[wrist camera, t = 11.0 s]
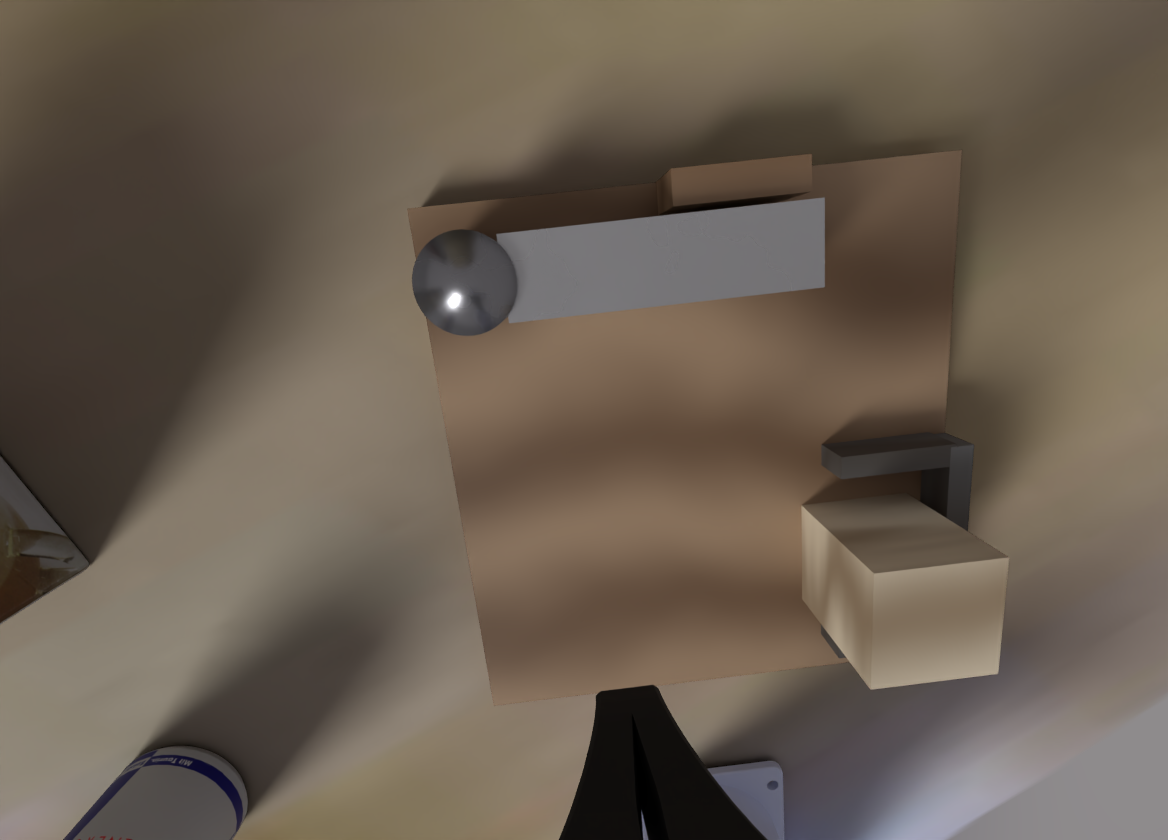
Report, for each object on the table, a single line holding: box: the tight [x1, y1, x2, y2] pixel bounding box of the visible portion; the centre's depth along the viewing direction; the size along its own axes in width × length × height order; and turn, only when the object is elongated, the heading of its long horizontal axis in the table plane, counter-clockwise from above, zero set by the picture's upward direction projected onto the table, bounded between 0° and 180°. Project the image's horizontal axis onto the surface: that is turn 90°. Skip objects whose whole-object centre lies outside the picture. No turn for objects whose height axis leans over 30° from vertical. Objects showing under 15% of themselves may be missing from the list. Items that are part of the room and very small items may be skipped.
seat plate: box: [407, 150, 974, 706], centre depth 20 cm, size 19×18×4 cm
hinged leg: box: [412, 197, 825, 336], centre depth 17 cm, size 11×3×3 cm, turn 96°
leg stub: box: [801, 493, 1009, 690], centre depth 19 cm, size 4×4×5 cm
